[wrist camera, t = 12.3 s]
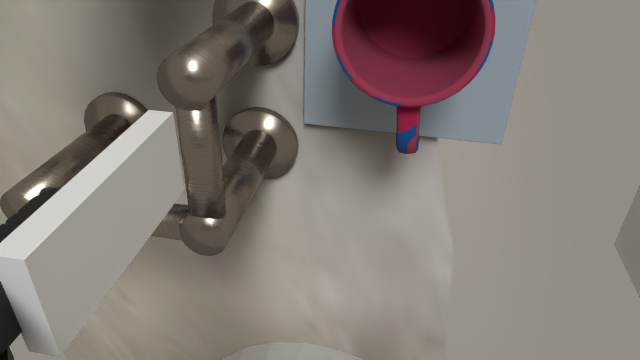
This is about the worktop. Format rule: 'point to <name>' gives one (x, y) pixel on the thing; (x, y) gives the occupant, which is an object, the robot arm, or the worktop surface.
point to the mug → (412, 52)
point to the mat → (436, 119)
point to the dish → (289, 352)
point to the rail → (197, 126)
